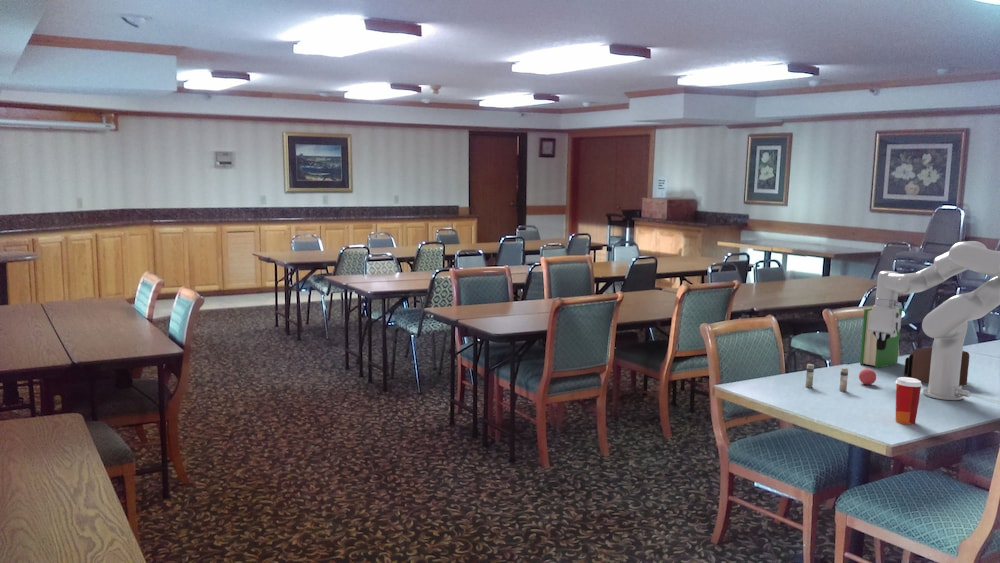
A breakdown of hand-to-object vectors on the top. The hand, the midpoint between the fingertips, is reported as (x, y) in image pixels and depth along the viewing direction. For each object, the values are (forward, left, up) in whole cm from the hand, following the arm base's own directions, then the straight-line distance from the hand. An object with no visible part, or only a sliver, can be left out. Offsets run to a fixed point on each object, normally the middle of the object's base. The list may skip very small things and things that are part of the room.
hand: (880, 349), depth 299 cm
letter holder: (-12, -20, -13) cm, 27 cm away
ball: (-1, +10, -9) cm, 13 cm away
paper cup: (-33, +46, -13) cm, 57 cm away
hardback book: (+15, -29, -13) cm, 35 cm away
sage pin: (+9, +33, -12) cm, 36 cm away
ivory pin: (-1, +27, -12) cm, 29 cm away
